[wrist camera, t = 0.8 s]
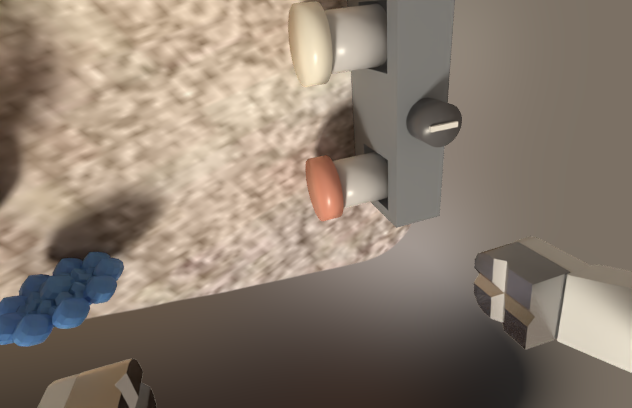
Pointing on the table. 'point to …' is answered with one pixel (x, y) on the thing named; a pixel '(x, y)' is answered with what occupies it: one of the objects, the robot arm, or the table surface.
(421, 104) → the pot dial
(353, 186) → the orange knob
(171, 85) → the table surface
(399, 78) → the mount
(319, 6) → the cream knob
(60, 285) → the grapes
